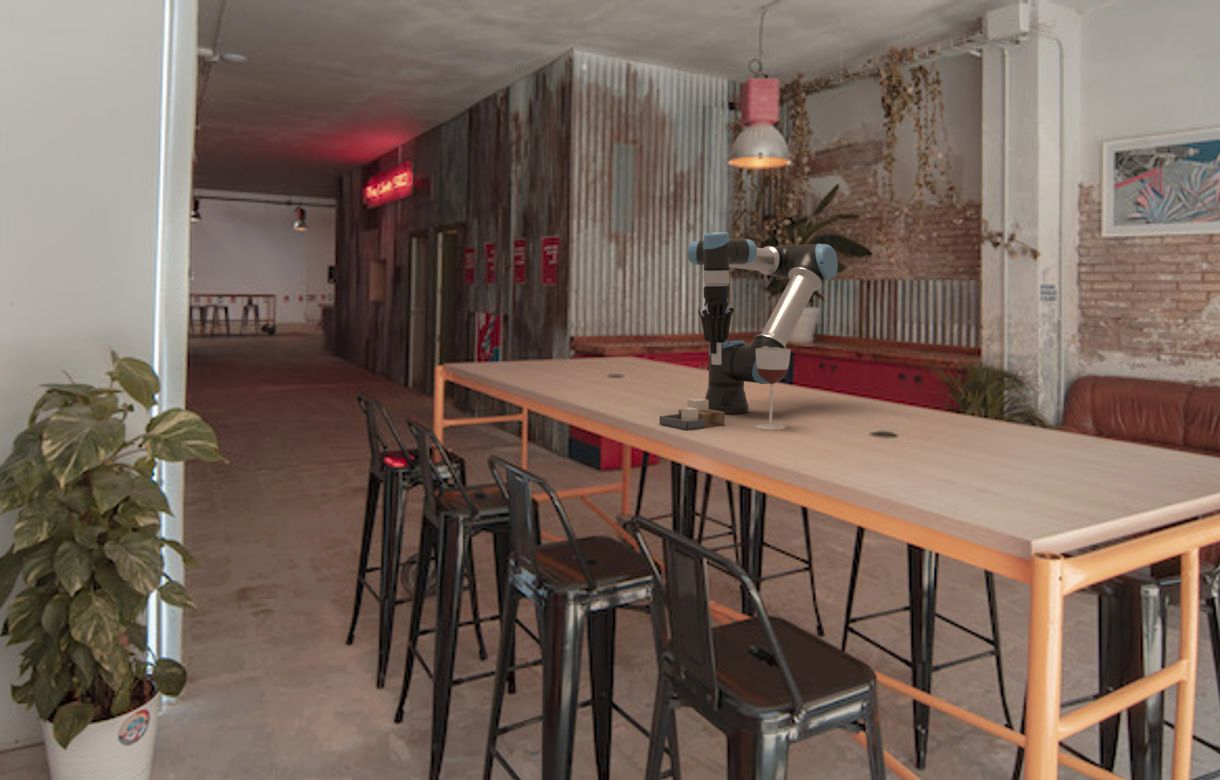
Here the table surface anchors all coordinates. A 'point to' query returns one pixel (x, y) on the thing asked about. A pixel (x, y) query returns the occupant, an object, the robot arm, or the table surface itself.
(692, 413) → the beige block
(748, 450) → the table surface
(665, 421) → the tray
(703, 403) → the beige block
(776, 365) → the wineglass
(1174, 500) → the table surface
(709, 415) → the board
